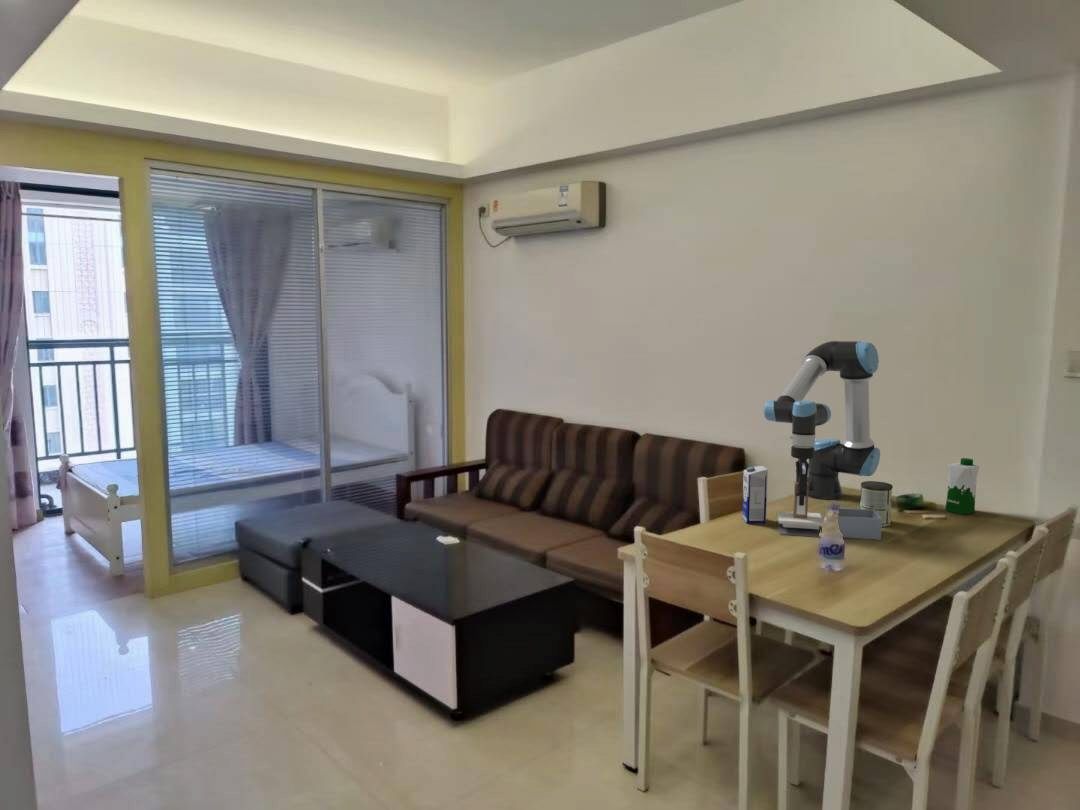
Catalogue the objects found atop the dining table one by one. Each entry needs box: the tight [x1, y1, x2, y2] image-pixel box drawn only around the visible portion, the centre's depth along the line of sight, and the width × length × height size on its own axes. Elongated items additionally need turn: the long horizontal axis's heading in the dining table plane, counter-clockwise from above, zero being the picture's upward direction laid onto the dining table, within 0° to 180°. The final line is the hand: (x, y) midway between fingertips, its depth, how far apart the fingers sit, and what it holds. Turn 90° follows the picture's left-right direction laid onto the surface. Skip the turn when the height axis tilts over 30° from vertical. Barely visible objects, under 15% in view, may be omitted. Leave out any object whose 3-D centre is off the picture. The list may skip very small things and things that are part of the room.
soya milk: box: [944, 457, 980, 516], centre depth 275 cm, size 9×9×20 cm
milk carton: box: [741, 465, 769, 525], centre depth 264 cm, size 7×7×20 cm
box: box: [837, 507, 882, 540], centre depth 250 cm, size 12×14×7 cm
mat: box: [776, 520, 821, 538], centre depth 254 cm, size 16×14×1 cm
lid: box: [776, 481, 825, 529], centre depth 253 cm, size 13×15×15 cm
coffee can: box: [859, 480, 894, 528], centre depth 262 cm, size 10×10×14 cm
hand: (800, 512), depth 254 cm, fingers closed on lid, 3 cm apart
